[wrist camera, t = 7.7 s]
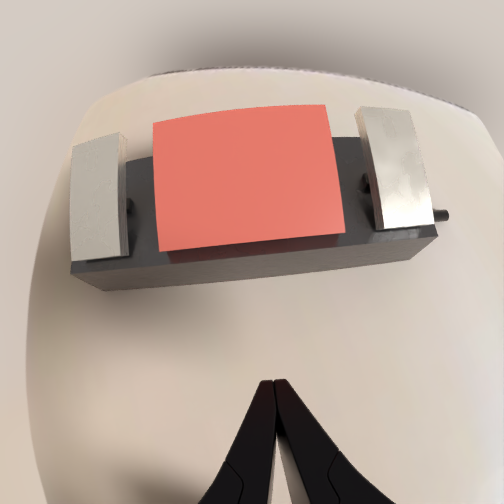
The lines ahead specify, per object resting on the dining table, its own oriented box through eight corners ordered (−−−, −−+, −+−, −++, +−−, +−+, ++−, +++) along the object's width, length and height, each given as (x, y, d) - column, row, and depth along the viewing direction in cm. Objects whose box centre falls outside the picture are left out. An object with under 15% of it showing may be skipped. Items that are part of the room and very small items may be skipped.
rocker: (339, 233, 19) (345, 232, 17) (165, 251, 19) (159, 251, 18) (320, 112, 19) (324, 104, 17) (159, 130, 19) (153, 123, 17)
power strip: (453, 252, 24) (514, 206, 14) (103, 291, 24) (33, 253, 14) (423, 171, 27) (462, 111, 18) (113, 198, 28) (65, 139, 18)
